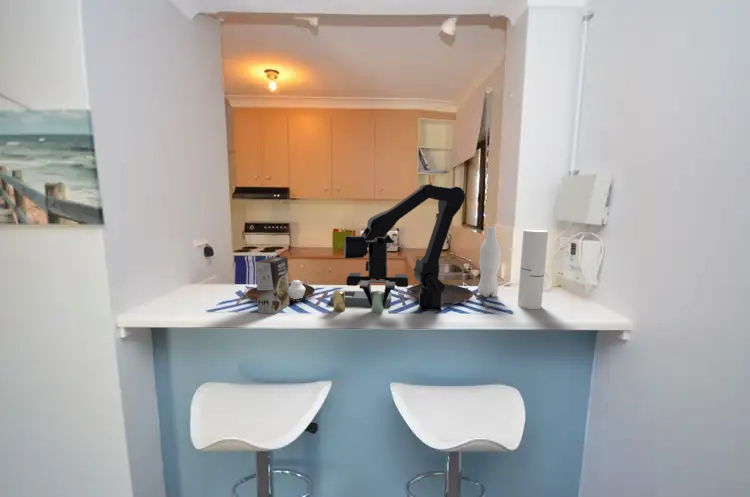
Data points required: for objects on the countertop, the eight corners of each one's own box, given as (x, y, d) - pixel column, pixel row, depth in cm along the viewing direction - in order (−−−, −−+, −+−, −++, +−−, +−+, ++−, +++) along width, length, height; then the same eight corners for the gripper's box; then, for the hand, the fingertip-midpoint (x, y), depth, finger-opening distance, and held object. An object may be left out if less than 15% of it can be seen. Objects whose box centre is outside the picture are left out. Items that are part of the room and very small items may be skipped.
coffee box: (276, 314, 97) (274, 262, 95) (257, 312, 99) (254, 261, 96) (290, 304, 106) (288, 256, 104) (272, 303, 107) (270, 256, 105)
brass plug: (345, 308, 103) (345, 290, 102) (343, 312, 99) (343, 293, 98) (335, 308, 103) (334, 290, 102) (332, 312, 100) (332, 293, 99)
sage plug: (383, 309, 102) (383, 291, 101) (382, 313, 99) (382, 294, 98) (372, 308, 103) (372, 290, 102) (371, 312, 99) (371, 294, 98)
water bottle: (499, 294, 118) (504, 227, 114) (495, 299, 112) (500, 228, 108) (480, 291, 122) (484, 226, 118) (474, 296, 116) (478, 227, 112)
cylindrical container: (522, 300, 112) (528, 229, 108) (544, 305, 107) (551, 230, 103) (514, 305, 107) (519, 230, 103) (536, 310, 102) (543, 232, 98)
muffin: (292, 295, 116) (291, 277, 114) (308, 297, 114) (307, 278, 113) (284, 301, 110) (283, 281, 108) (301, 302, 108) (300, 282, 107)
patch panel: (391, 298, 113) (391, 291, 112) (390, 306, 105) (390, 298, 104) (335, 297, 114) (335, 289, 114) (330, 304, 106) (330, 296, 106)
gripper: (407, 253, 105) (406, 299, 108) (351, 252, 107) (351, 297, 109) (408, 260, 94) (407, 310, 97) (345, 258, 96) (346, 308, 98)
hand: (377, 306), depth 101 cm, fingers closed on sage plug, 3 cm apart
